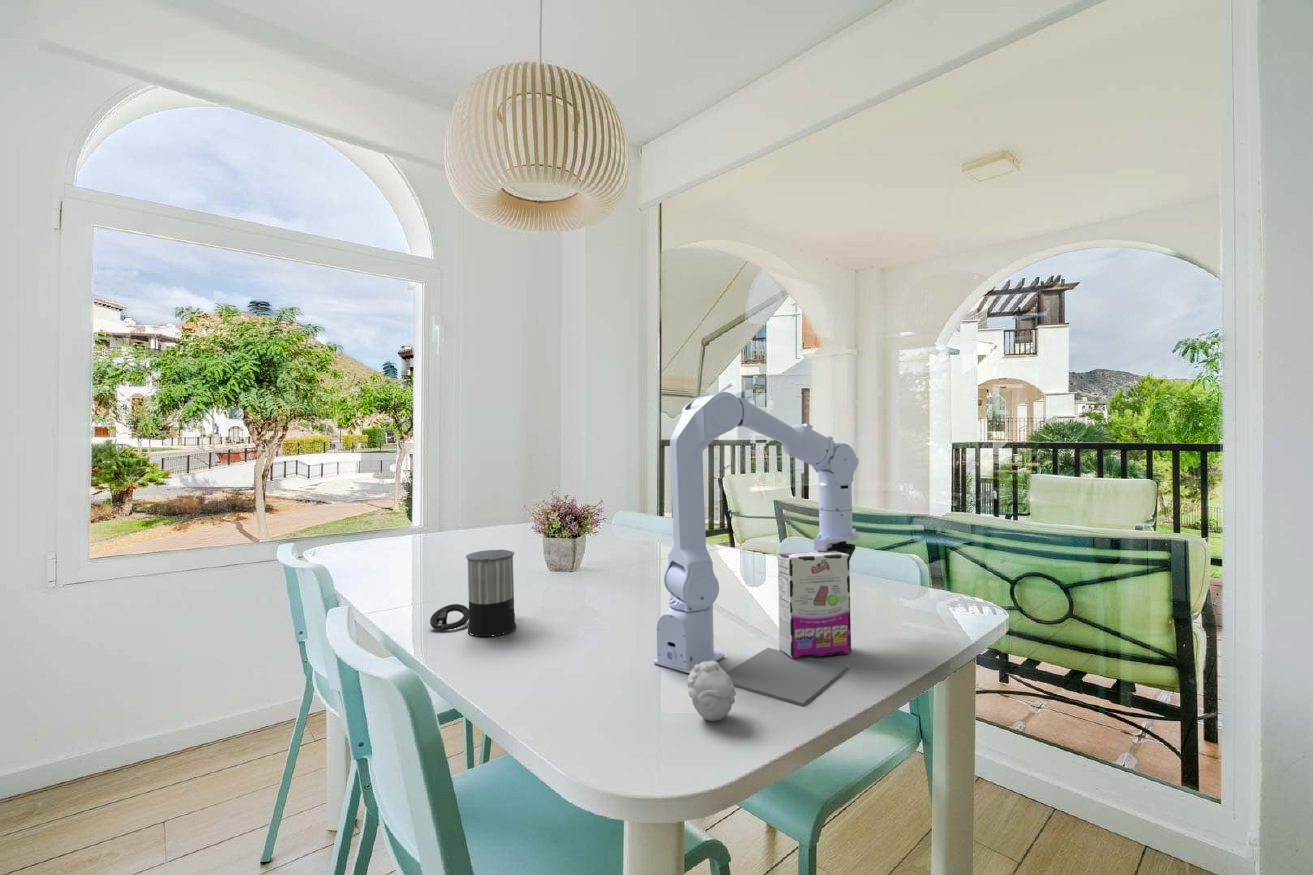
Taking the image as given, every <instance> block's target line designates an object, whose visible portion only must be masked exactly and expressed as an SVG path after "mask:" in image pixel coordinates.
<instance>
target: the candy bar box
mask: <svg viewBox="0 0 1313 875" xmlns="http://www.w3.org/2000/svg"><path fill="white" fill-rule="evenodd" d="M850 571H851V570H850V561H849V554H845V553H842V552H838V551H819V552H818V551H803V552H802V551H801V552H786V553H785V552H784V553H777V574H778V576H777V579H778V580H777V585H778V586H777V587H778V645H779V647H778V650H780V651H782V652H783V653H785V654H786V655H788V656H789V657H791V658H793V659H795V658H805V657H811V658H815V657H822V656H823V657H824V656H834V655H842V654H843V655H845V654H850V653H852V634H851V633H852V630H851V626H852V625H851V621H852V620H851V619H852V618H851V584H850V583H851V579H850V576H851V575H850V574H851V573H850Z"/></svg>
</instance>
